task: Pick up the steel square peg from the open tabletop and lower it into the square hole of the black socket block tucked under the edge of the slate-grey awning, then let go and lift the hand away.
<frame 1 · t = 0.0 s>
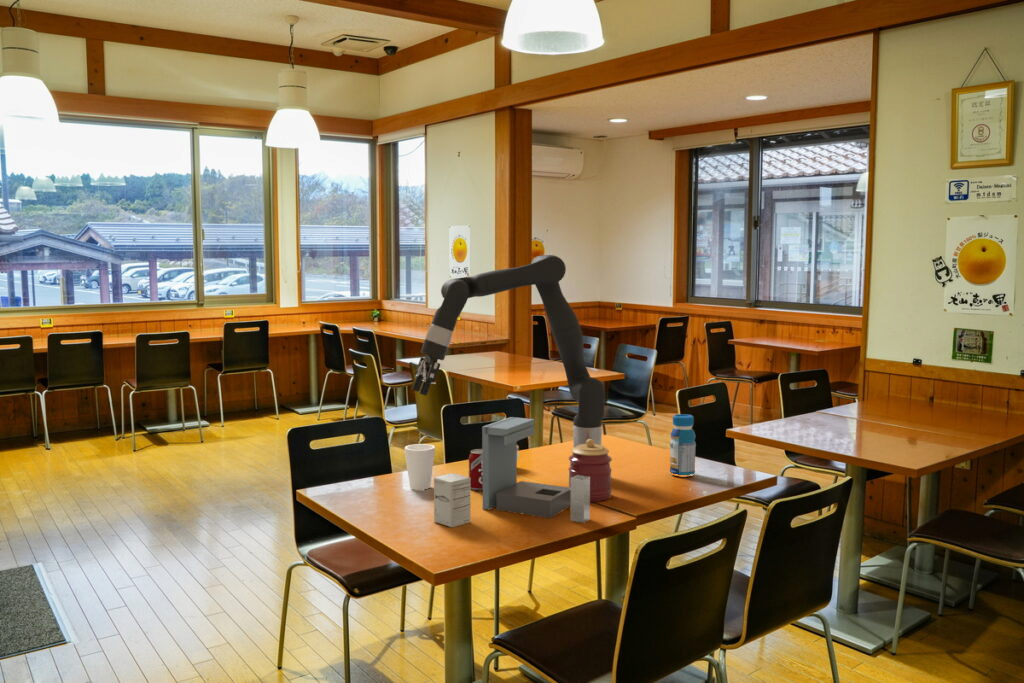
hand: (419, 392, 253), 31 cm above the table, tool tilted 20°, fingers open, 8 cm apart
foam cup: (420, 488, 264), on the table
peg: (580, 520, 230), on the table
canister: (589, 497, 253), on the table
socket: (534, 507, 242), on the table
lidded jar: (503, 469, 288), on the table
soda can: (479, 489, 262), on the table
supplement box: (452, 523, 228), on the table
beverage bottle: (682, 475, 278), on the table
awning: (500, 502, 247), on the table
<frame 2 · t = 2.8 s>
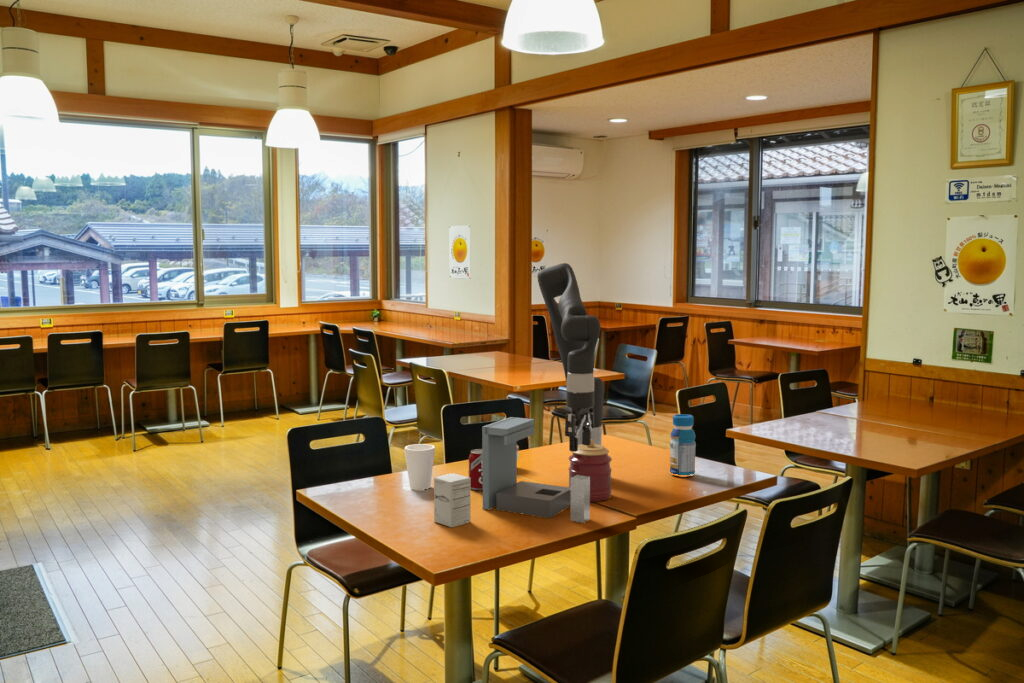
hand: (580, 448, 228), 20 cm above the table, tool pointing down, fingers open, 8 cm apart
nothing on the table moved.
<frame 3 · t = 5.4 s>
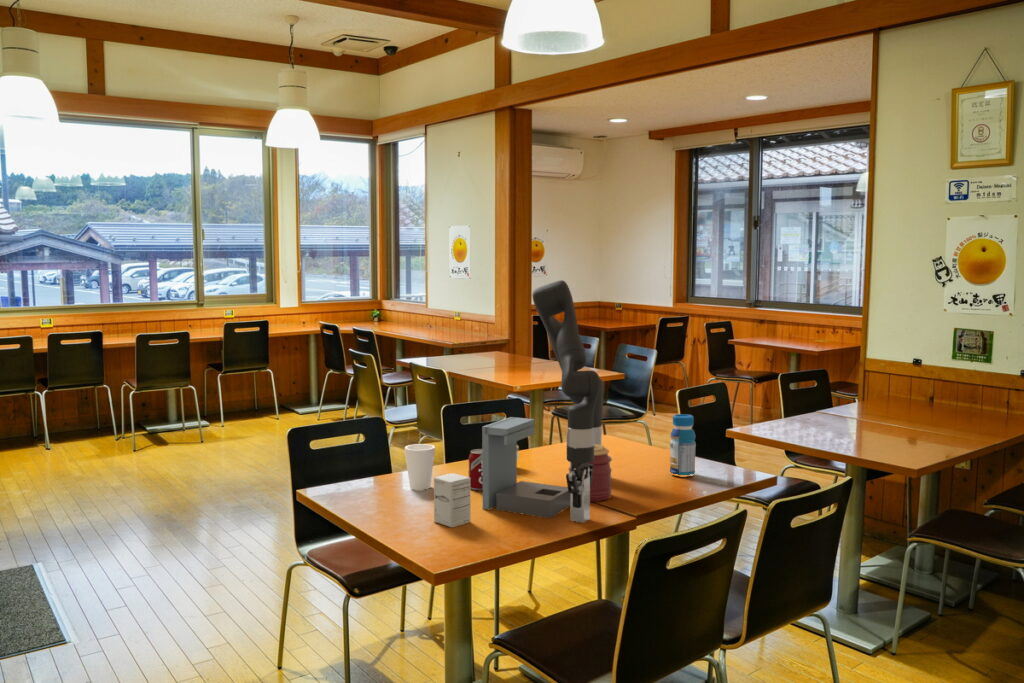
hand: (580, 504, 229), 4 cm above the table, tool pointing down, fingers closed on peg, 4 cm apart
peg: (580, 520, 230), on the table, touching gripper
everything else where it was.
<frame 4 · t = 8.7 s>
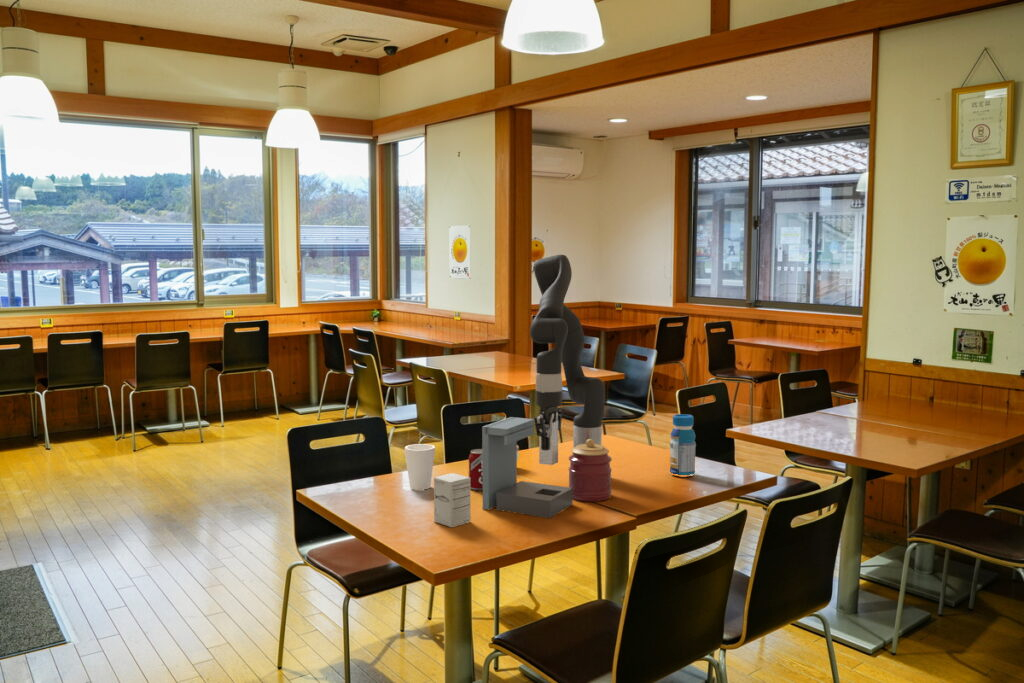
hand: (548, 448, 238), 18 cm above the table, tool pointing down, fingers closed on peg, 4 cm apart
peg: (548, 462, 239), point 14 cm above the table, touching gripper
everything else where it was.
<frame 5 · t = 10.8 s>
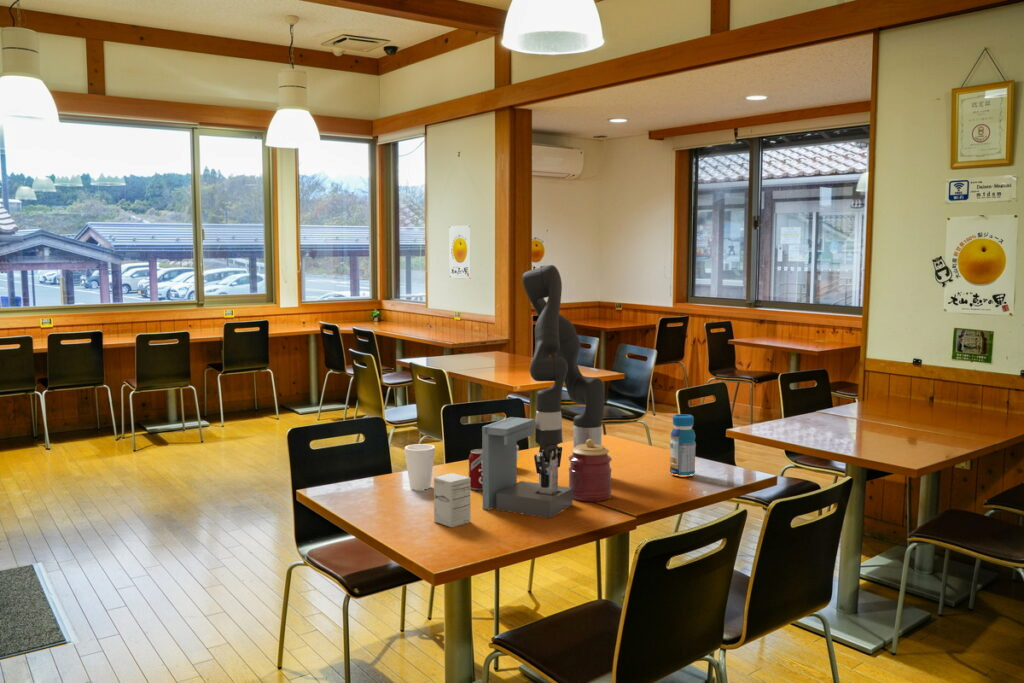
hand: (548, 485, 239), 7 cm above the table, tool pointing down, fingers closed on peg, 4 cm apart
peg: (548, 499, 240), point 3 cm above the table, touching gripper
everything else where it was.
when the fingers open (6 cm above the table, at t = 12.2 s): peg drops 2 cm, resting in socket.
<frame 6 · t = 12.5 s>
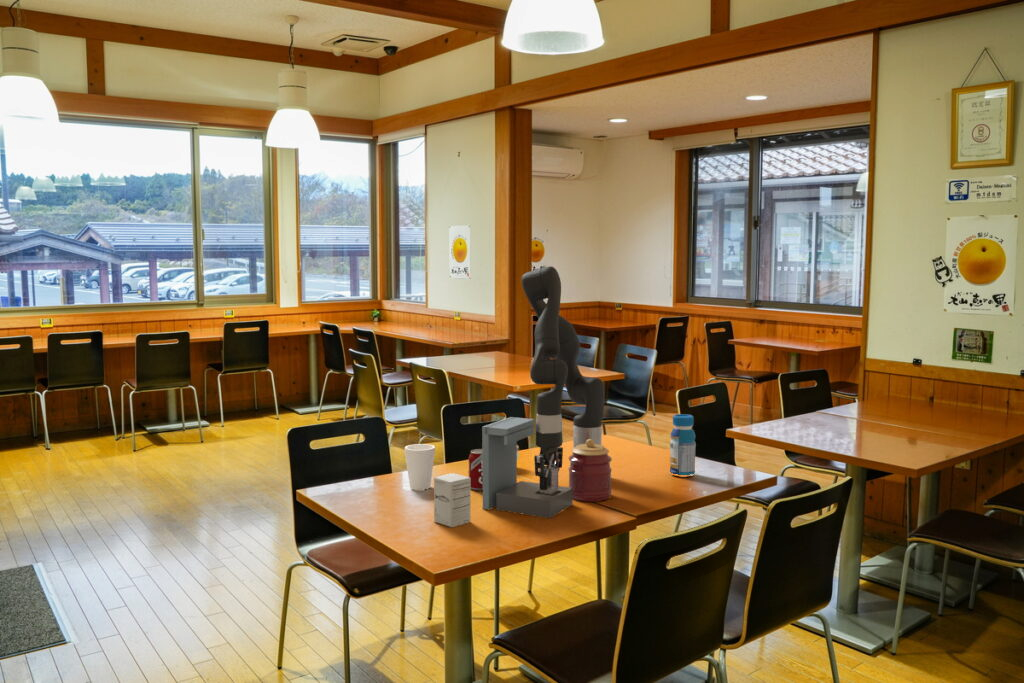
hand: (548, 486, 239), 7 cm above the table, tool pointing down, fingers open, 6 cm apart
peg: (549, 509, 240), resting in socket
everything else where it was.
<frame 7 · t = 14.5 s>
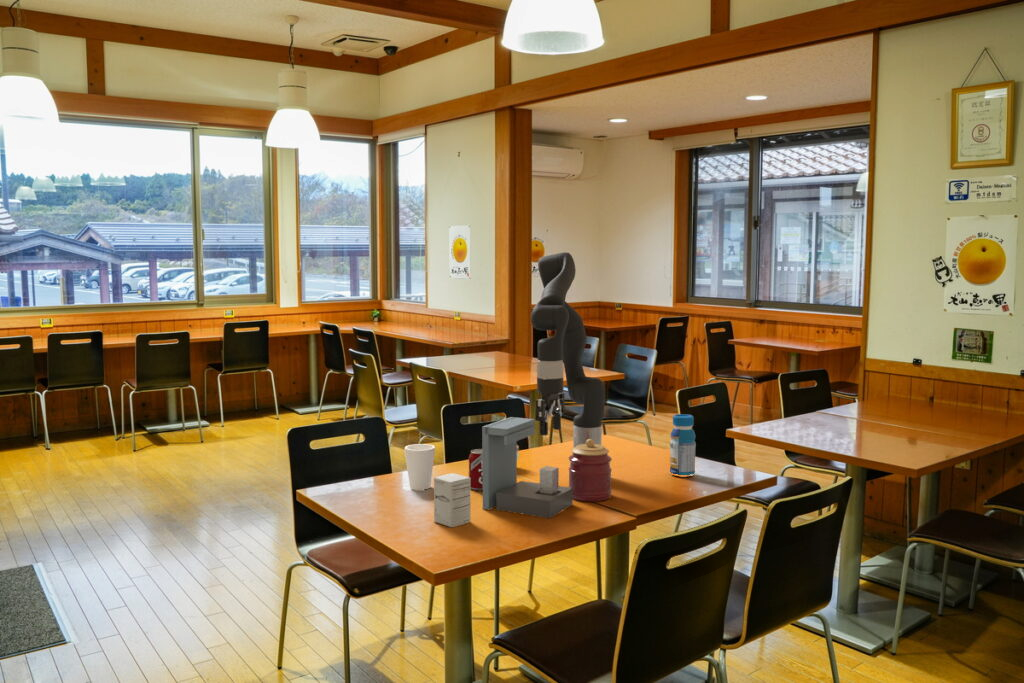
hand: (550, 432, 238), 22 cm above the table, tool pointing down, fingers open, 8 cm apart
nothing on the table moved.
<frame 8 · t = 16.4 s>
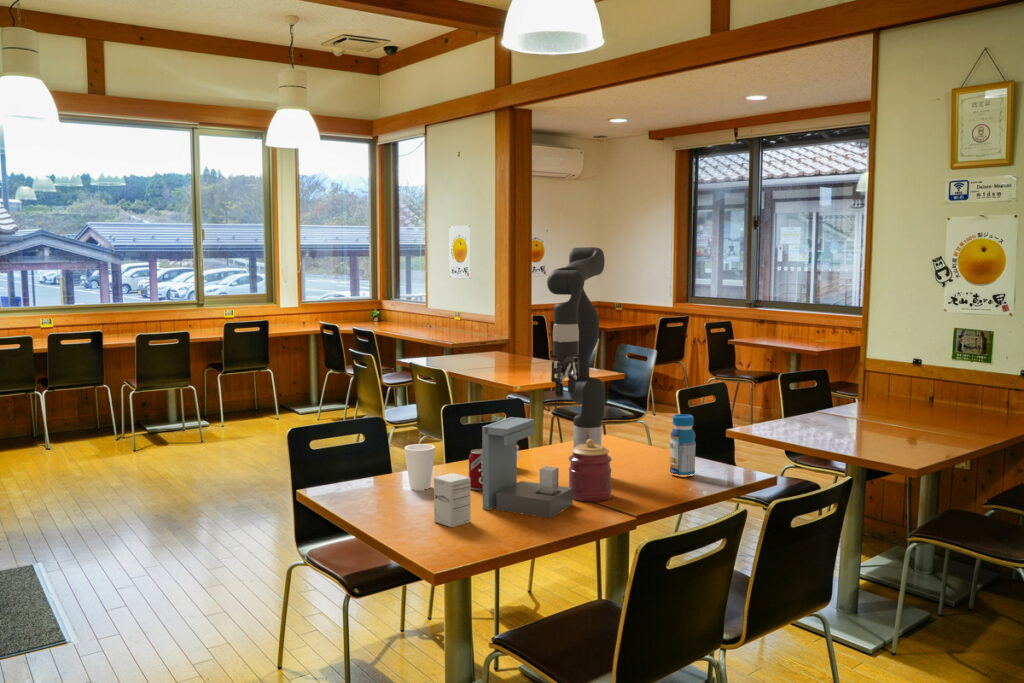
hand: (565, 394, 244), 32 cm above the table, tool pointing down, fingers open, 8 cm apart
nothing on the table moved.
at the end: peg 0.2 cm from the target spot on the socket, point 0.0 cm above the socket's base; peg tilted 0°; the gripper is holding nothing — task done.
